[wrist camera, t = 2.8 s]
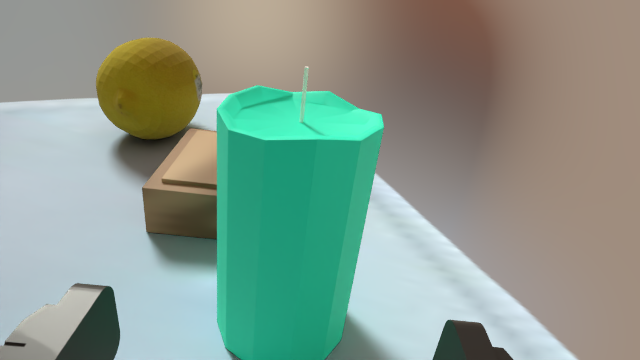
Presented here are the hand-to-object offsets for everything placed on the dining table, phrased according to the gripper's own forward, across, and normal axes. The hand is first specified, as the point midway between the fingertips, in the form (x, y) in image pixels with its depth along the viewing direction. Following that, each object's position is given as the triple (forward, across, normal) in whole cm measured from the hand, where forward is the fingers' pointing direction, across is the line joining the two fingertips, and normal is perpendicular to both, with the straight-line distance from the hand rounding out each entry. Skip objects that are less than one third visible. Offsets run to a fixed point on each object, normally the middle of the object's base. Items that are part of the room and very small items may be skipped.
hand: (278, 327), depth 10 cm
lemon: (+27, +13, +7) cm, 31 cm away
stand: (+17, +4, +7) cm, 19 cm away
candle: (+7, 0, +8) cm, 10 cm away
